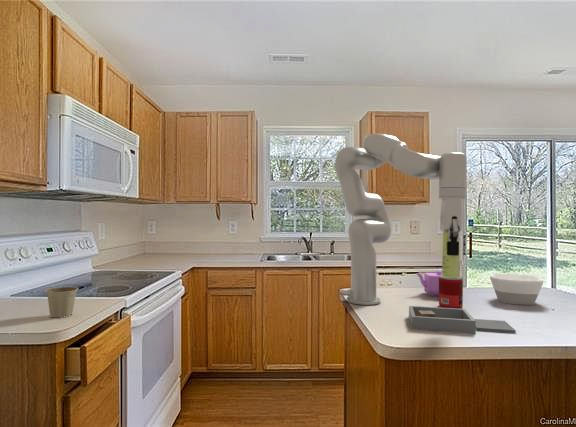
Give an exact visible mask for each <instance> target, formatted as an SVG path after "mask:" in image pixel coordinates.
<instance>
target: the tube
mask: <svg viewBox="0 0 576 427" xmlns="http://www.w3.org/2000/svg"><path fill="white" fill-rule="evenodd" d="M458 229H459V226H458ZM450 231H453V229H450ZM458 231H459V230H458ZM447 242H448V230H446V232H444V231H442V255H441V256H442V260H441V262H442V264H441V266H442V267H441V271H442V276H444V277H449V278H458V277H460V276H461V271H460V270H461V264H460V263H461V262H460V260H461V259H460V258H461V257H460V255H461V254H460V252H461V251H460V246H459V255H458V256H454V255H447Z"/></svg>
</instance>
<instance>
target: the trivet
mask: <svg viewBox="0 0 576 427" xmlns="http://www.w3.org/2000/svg"><path fill="white" fill-rule="evenodd" d="M474 320H475V321H476V332H478V331H481V332H491V333H492V332H494V333H509V334H516V333H517V331H516V329H515V328H513V326H511V325H510V324H509V323H508V322H507V321H505V320H497V319H483V318H482V319H481V318H474Z"/></svg>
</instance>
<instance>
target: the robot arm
mask: <svg viewBox="0 0 576 427" xmlns="http://www.w3.org/2000/svg"><path fill="white" fill-rule="evenodd" d="M386 163H388V164H390V165H391V167H392V168H393V169H395V170H397V171H398V172H400V173H403V174H405V175H407V176H409V177H412V178H416V179H427V180H438V200H441V204H440V221H439V230H440V231H441V232H443V231H444V232H446V230H448V242H447V255H454V256H458V255H459V247H460V232H461V231H462V228H463V200H466V199H467V198H466V196H467V193H466V192H467V189H466V188H467V156H466V154H465V153H463V152H446V153H443V154H440V156H439V155H432V154H427V153H420V152H417V151H414V150H411V149H409V147H408V145H407V144H406V143H405V142H404V141H401V140H399V139H398V138H397V137H396V136H394V135H391V134H386V133H380V132H379V133H378V132H376V133H375V132H374V133H370V134H368V135H367V136H366V137H365V138H364V140H363V147H358V146H346V147H343V148H341V149H339V151H338V153H337V154H336V157H335V162H334V168H335V169H334V170H335V173H336V176H337V178H338V182H339V183H340V187H341V191H342V196H343V200H344V204H345V208H346V211H347V213H348V214H349V215H350V216H351V217H356V218H358V217H359V219H354V220H353V221H352V222H351V223H350V224H349V226H348V230H347V231H348V238H349V244H350V245H349V246H350V288H349V289H339V294H338V295H341V296H342V297H343V296H345V297H346V302H348V303H350V304H353V305H361V306H372V305H378V304H380V303H381V298H380V297H377V253H376V250H375V248H374V244H382V243H385V242H387V241H388V240H389V239H390V237H391V235H392V234H391V232H392V228H391V224H390V220H389V219H390V218H389V216H388V212H387V209H386V206H385V202H384V200H383V199H382V197H381V196H380V195H378V194H376V193H374V192H367V191H366V190H365V187H364V182H363V181H362V177H361V176H360V175H359V173H357V172H356V170H362V171H363V170H364V171H372V170H375V169H377V168H379V167H380V166H383V165H384V164H386ZM361 217H363V218H361ZM458 226H459V229H458ZM450 229H453V231H450ZM458 230H459V231H458Z"/></svg>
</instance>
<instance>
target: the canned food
mask: <svg viewBox="0 0 576 427" xmlns="http://www.w3.org/2000/svg"><path fill="white" fill-rule="evenodd" d="M463 287H464V280H463V276H461V275H460V277H458V278H449V277H444V276H442V275H440V276H439V295H438V305H439V306H438V307H439V308H456V309H463V302H464V301H463V300H464V298H463V296H464V295H463V294H464V292H463V290H464V288H463Z"/></svg>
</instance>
